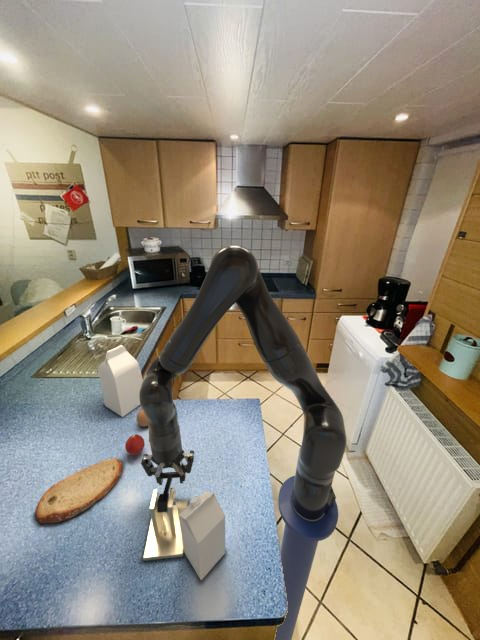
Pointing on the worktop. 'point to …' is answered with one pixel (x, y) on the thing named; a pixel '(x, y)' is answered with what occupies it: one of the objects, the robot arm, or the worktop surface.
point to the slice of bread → (78, 491)
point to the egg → (142, 418)
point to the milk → (120, 381)
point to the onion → (134, 444)
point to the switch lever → (166, 491)
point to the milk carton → (203, 532)
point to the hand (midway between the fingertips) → (171, 480)
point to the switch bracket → (165, 529)
